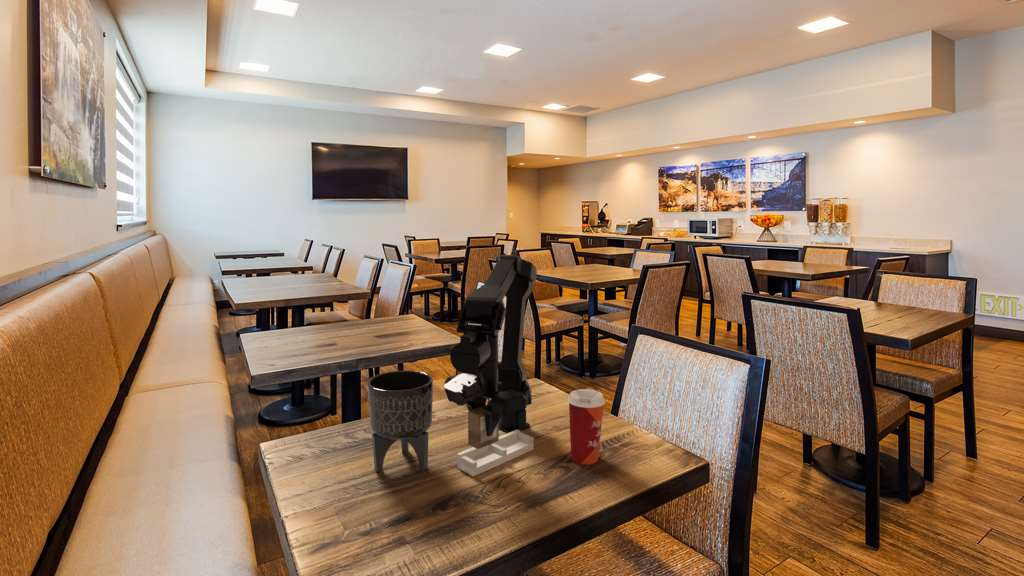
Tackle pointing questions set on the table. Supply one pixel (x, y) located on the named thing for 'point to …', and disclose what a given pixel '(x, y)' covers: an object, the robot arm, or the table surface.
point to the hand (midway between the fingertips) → (483, 433)
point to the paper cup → (585, 425)
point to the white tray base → (494, 453)
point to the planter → (400, 413)
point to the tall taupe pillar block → (480, 430)
